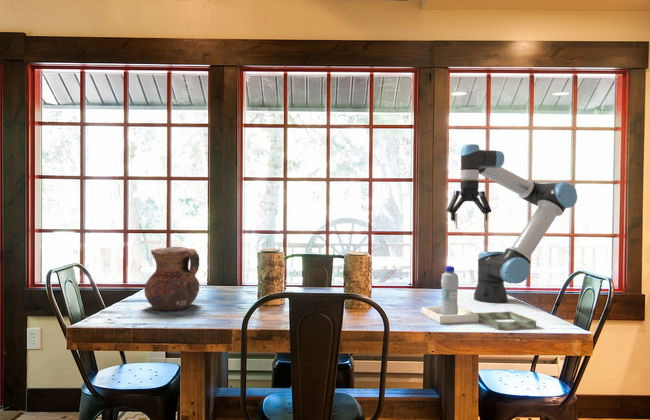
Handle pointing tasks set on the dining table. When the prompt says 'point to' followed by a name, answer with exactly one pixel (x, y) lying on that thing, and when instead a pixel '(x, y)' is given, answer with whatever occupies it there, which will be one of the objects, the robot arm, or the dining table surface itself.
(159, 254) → the jug
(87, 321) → the dining table surface
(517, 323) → the rim
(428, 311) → the cream dish
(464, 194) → the robot arm
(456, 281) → the bottle
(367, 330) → the dining table surface
